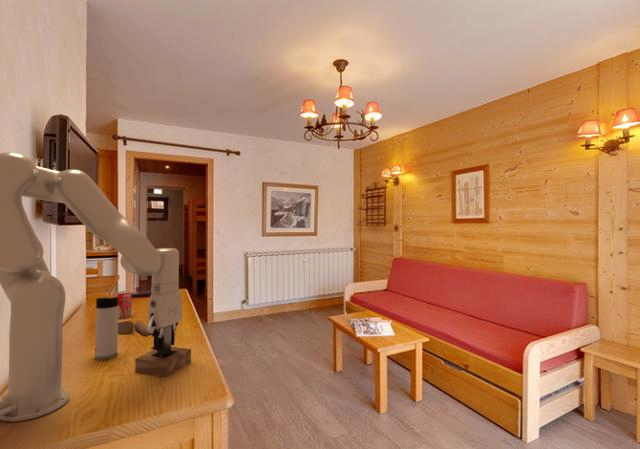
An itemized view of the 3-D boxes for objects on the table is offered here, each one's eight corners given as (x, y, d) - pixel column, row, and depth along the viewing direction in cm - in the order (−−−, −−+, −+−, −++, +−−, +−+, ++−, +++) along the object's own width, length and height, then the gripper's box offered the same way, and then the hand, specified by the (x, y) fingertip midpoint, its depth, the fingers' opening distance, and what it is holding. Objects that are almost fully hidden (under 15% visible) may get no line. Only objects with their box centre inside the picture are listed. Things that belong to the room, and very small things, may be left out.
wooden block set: (158, 312, 141) (174, 321, 129) (157, 325, 141) (174, 335, 129) (114, 320, 129) (127, 330, 117) (113, 334, 129) (127, 346, 117)
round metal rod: (164, 362, 96) (165, 315, 96) (153, 360, 97) (154, 314, 97) (173, 357, 100) (174, 312, 100) (163, 355, 101) (164, 311, 101)
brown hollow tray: (166, 376, 92) (166, 362, 92) (135, 372, 95) (135, 358, 95) (190, 361, 102) (191, 349, 102) (162, 357, 105) (162, 345, 105)
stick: (171, 353, 109) (171, 351, 109) (169, 354, 108) (169, 352, 108) (153, 348, 114) (153, 346, 114) (151, 348, 113) (151, 346, 113)
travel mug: (91, 361, 102) (92, 298, 102) (99, 353, 108) (100, 294, 108) (113, 359, 103) (114, 298, 104) (120, 351, 110) (121, 293, 110)
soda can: (115, 316, 154) (115, 291, 155) (132, 314, 157) (132, 290, 158) (112, 319, 148) (113, 293, 148) (130, 318, 151) (130, 292, 151)
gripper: (154, 293, 90) (153, 359, 89) (193, 284, 106) (192, 339, 106) (133, 292, 92) (131, 356, 91) (174, 283, 108) (173, 337, 108)
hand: (164, 346), depth 99 cm, fingers closed on round metal rod, 3 cm apart
